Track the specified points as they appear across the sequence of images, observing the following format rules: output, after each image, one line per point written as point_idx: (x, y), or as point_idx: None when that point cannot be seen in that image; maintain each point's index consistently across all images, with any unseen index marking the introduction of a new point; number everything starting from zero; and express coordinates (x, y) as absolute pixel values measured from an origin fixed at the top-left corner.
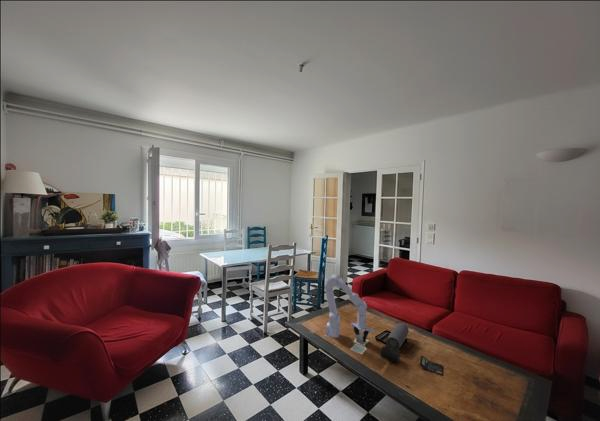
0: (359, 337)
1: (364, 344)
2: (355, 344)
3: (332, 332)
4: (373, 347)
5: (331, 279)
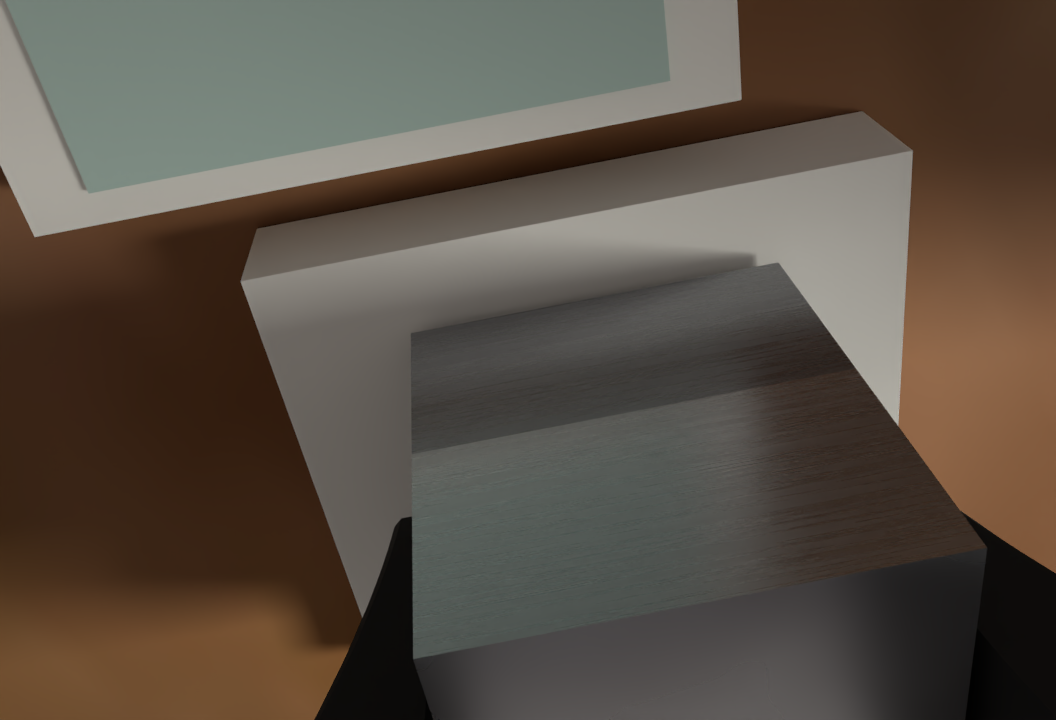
0: (664, 498)
1: (342, 393)
2: (688, 20)
3: None
4: (76, 555)
5: None
